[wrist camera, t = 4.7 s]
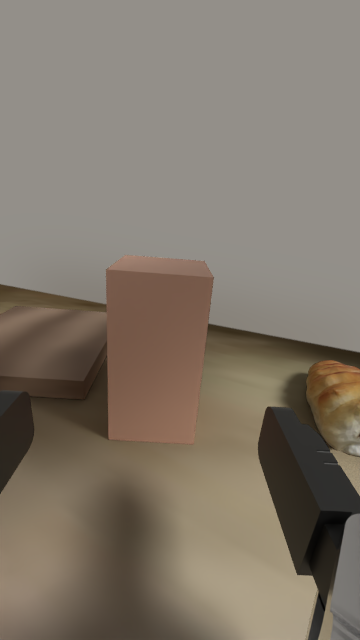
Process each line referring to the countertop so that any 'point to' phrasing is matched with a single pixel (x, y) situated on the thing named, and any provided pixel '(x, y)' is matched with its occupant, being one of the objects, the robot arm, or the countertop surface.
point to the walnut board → (51, 351)
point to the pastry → (336, 404)
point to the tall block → (156, 347)
